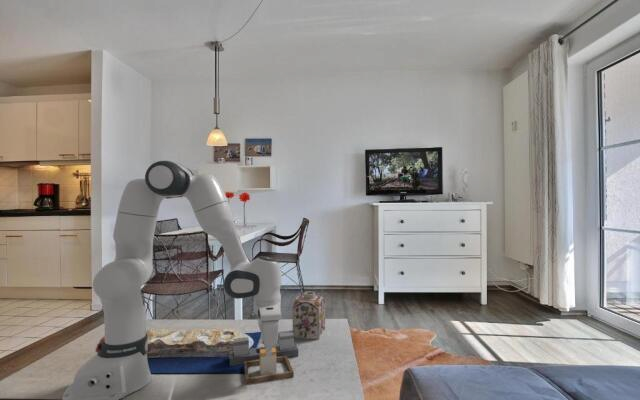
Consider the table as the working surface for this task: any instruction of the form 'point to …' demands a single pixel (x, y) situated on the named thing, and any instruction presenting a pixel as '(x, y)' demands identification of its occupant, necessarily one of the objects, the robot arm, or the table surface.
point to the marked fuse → (267, 362)
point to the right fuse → (286, 341)
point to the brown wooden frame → (271, 376)
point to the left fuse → (241, 346)
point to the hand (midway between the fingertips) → (266, 349)
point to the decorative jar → (309, 316)
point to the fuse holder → (255, 355)
